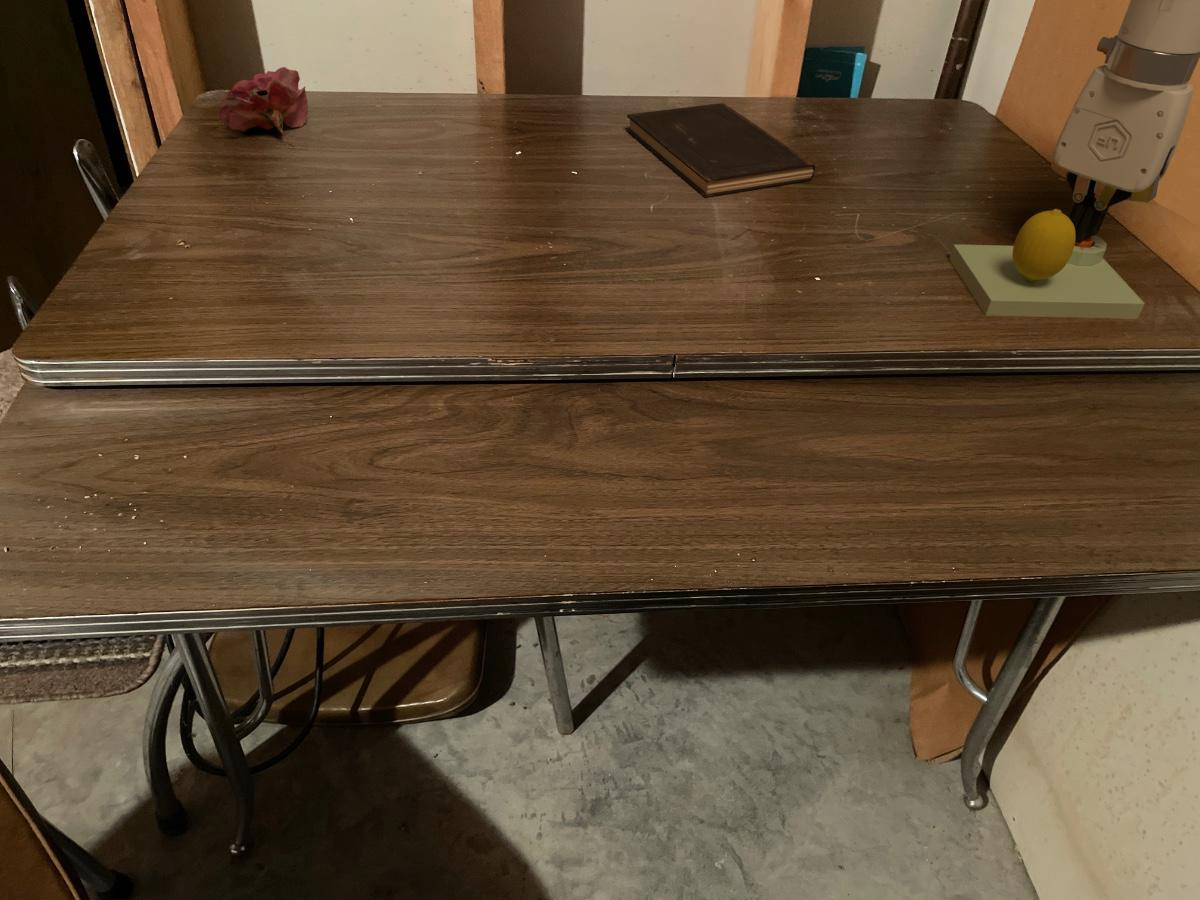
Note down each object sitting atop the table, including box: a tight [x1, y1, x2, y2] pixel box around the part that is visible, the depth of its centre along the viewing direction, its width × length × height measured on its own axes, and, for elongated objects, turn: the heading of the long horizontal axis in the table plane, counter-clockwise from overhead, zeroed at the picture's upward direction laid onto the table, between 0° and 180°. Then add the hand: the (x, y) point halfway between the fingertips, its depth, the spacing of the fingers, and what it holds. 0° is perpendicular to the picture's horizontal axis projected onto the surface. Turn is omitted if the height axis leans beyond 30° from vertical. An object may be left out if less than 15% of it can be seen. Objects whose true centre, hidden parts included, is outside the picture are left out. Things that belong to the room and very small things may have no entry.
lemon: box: [1012, 208, 1076, 282], centre depth 93 cm, size 6×6×8 cm
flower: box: [218, 66, 309, 147], centre depth 120 cm, size 11×10×10 cm
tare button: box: [1075, 237, 1093, 248], centre depth 100 cm, size 3×3×2 cm
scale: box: [948, 234, 1145, 320], centre depth 98 cm, size 16×13×4 cm
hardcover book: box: [625, 102, 816, 198], centre depth 122 cm, size 16×23×2 cm
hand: (1078, 236), depth 100 cm, fingers closed
